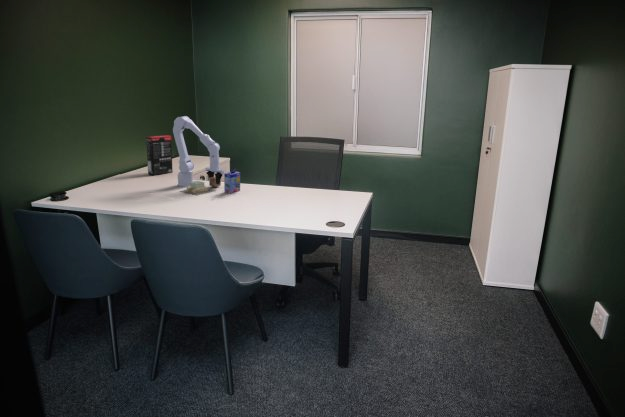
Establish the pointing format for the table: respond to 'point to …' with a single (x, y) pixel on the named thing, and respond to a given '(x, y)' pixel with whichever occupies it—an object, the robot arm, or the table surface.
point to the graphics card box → (159, 154)
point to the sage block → (196, 184)
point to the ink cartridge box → (232, 182)
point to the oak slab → (197, 189)
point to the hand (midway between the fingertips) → (215, 183)
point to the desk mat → (197, 193)
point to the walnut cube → (213, 182)
